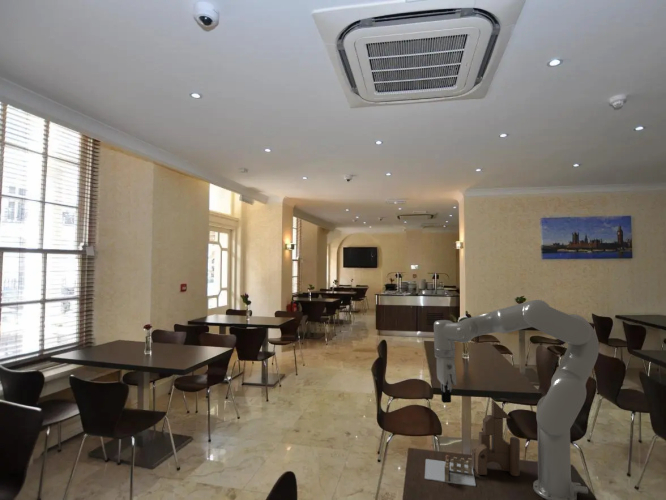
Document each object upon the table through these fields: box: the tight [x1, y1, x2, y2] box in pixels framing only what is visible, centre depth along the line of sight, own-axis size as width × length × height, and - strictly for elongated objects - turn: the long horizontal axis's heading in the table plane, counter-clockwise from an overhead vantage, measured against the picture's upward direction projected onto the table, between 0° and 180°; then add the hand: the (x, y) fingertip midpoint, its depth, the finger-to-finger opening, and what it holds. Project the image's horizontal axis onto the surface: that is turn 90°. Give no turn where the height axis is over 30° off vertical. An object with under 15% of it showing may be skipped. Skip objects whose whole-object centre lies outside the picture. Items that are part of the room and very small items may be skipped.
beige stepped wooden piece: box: [445, 454, 451, 483], centre depth 138 cm, size 9×1×5 cm, turn 161°
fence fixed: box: [450, 456, 472, 475], centre depth 140 cm, size 7×1×6 cm, turn 75°
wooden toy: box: [471, 399, 521, 477], centre depth 142 cm, size 15×7×25 cm, turn 88°
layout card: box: [424, 458, 477, 487], centre depth 141 cm, size 17×14×1 cm
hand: (446, 401), depth 147 cm, fingers closed
